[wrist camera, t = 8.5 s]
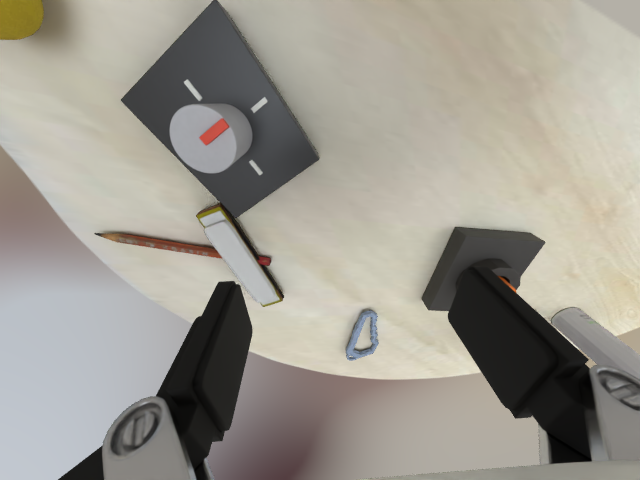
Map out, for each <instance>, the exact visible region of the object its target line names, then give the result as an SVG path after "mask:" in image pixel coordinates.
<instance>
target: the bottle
mask: <svg viewBox="0 0 640 480" xmlns="http://www.w3.org/2000/svg"><path fill="white" fill-rule="evenodd" d="M552 324H553V325H554V326H555V327H556V328H557V329H559V330H560V331H561V332H562V333H563V334H564V335H565V336H566V337H567V338H568V339H570V340H571V341H572V342H573V343H574V344H575V345H576V346H577V347H578V348H580V349H581V350H582V351H583V352H584V353H585V354H586V355H587V356H588V357H590V358H591V359H592V360H593V361H594V362H595V363H596V364H597V365H599V364H601V365H609V366H612V367H615V368H618V369H621V370H623V371H625V372H627V373H630V374H632V375H633V376H635V377H637V378H638V379H640V355H639V354H638V353H637V352H636V351H634V350H633V349H632V348H630V347H629V346H628V345H626V344H625V343H624V342H622V341H621V340H620V339H618V338H617V337H616V336H614V335H613V334H612V333H611V332H609V331H608V330H607V329H605V328H604V327H603V326H601V325H600V324H599V323H597V322H596V321H595V320H593V319H592V318H591V317H590V316H588V315H587V314H586V313H584V312H583V311H582V310H580V309H579V308H568V309H565V310H562V311H560V312H559V313H557V314H556V315H555V316H554V317H553V318H552Z"/></svg>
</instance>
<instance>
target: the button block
mask: <svg viewBox="0 0 640 480" xmlns="http://www.w3.org/2000/svg"><path fill="white" fill-rule="evenodd" d="M544 244H545V241H543V240H541V239H540V238H538V237H536V236H535V235H533V234H531V233H524V232H511V231H498V230H486V229H473V228H460V227H455V229H454V231H453V233H452V236H451V238H450V240H449V242H448V244H447V246H446V248H445V250H444V252H443V255H442V257H441V259H440V261H439V263H438V265H437V267H436V269H435V272H434V274H433V276H432V278H431V280H430V282H429V284H428V286H427V288H426V291H425V293H424V295H423V297H422V300H423V302H424V304H425V305H426V307H427V309H428V310H436V311H449V310H450V308H451V305H452V302H453V300H454V297H455V295H456V292H457V289H458V287H459V284H460V281H461V279H462V276H463V274H464V272H465V271H467V269H468V268H469V267H477V266H486V267H488V268H489V269H490V270H492V271H493V272H494V273H495V274H496V275H497V276H500V277H503V278H504V279H505V280H506V281H507V282H508V283H509V284H511V285H512V286H513V287H514V288H515V289H516V290H517V288H518V287H519V286H520V277H521V275H522V274H523V273H524V271H525V270H526V268H527V267H528V266H529V264H530V263H531V262H532V260H533V259H534V258H535V256H536V255H537V253H538V252H539V251H540V249H541V248H542V247H543V245H544Z"/></svg>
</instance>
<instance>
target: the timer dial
mask: <svg viewBox="0 0 640 480" xmlns="http://www.w3.org/2000/svg"><path fill="white" fill-rule="evenodd" d="M170 138H171V142H172V145H173V147H174V149H175V151H176V153H177V154H178V155H179V157H180V158H181V159H182V160H183V161H184V162H185V163H186V164H188V165H189V166H190V167H192V168H194V169H196V170H198V171H201V172H204V173H219V172H222V171H224V170H226V169H227V168H229V167H230V166H231V165H232V164H233V163H234V162H236V161H237V160H238V159H239V158H240V157H241V156H243V155H244V154H245V153H246V152H247V151H248V150H249V148H250V146H251V143H252V129H251V126H250V123H249V121H248V119H247V118H246V116H245V115H244V114H243V113H242V112H241V111H240V110H238V109H237V108H235V107H234V106H231V105H229V104H221V103H220V104H192V105H187V106H184V107H182V108H180V109H179V110H178V111H177V112H176V113H175V114H174V116H173V117H172V120H171V123H170Z"/></svg>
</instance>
